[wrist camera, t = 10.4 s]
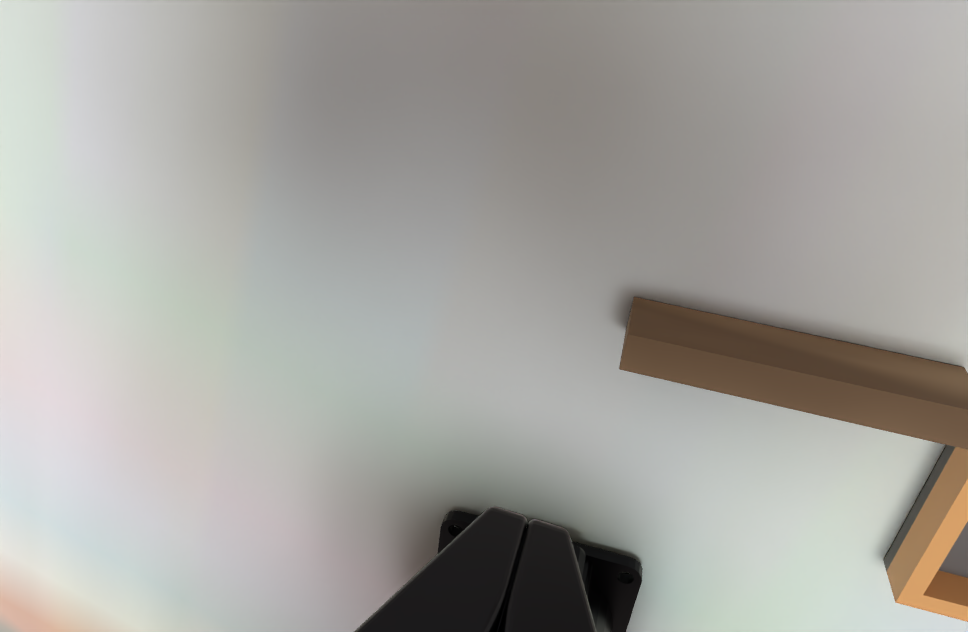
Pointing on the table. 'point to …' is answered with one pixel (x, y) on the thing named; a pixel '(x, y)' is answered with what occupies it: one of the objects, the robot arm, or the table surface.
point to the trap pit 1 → (935, 542)
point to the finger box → (798, 371)
